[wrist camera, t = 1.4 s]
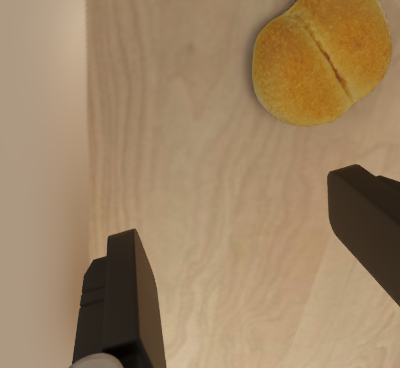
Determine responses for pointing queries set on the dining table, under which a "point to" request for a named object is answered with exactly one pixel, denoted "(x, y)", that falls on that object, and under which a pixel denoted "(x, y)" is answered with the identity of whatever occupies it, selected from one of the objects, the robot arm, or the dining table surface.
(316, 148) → the dining table surface
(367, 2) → the bread roll
